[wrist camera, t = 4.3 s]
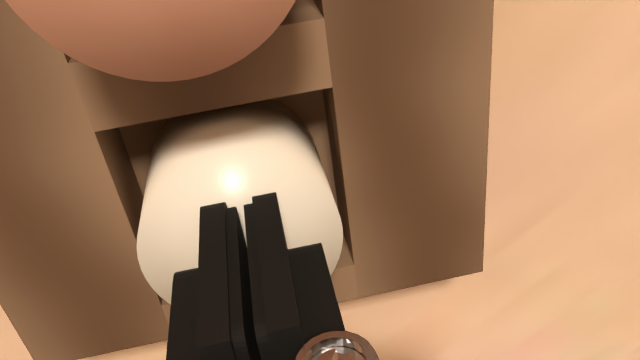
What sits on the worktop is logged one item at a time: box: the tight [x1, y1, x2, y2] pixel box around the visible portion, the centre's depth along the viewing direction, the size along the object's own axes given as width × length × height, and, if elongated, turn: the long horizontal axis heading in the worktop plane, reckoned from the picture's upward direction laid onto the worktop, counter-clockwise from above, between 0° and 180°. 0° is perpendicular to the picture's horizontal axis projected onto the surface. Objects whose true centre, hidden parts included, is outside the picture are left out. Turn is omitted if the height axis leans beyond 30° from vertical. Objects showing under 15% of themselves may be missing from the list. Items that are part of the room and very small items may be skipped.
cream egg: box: [137, 99, 343, 305], centre depth 14 cm, size 5×5×4 cm
